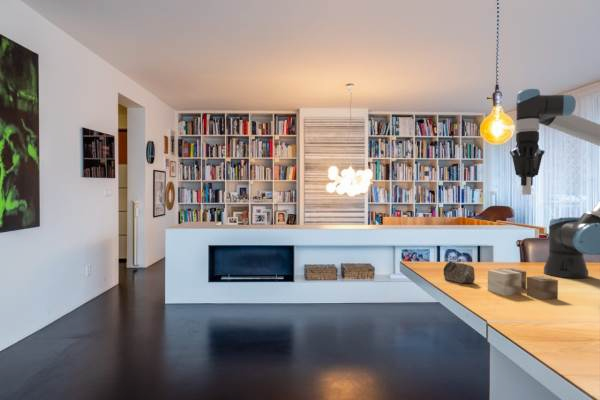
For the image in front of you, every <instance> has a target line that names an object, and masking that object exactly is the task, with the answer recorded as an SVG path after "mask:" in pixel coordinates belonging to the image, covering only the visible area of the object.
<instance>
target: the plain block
mask: <svg viewBox="0 0 600 400" xmlns="http://www.w3.org/2000/svg"><path fill="white" fill-rule="evenodd" d="M506 269H507V268H498V269H488V270H487V291H488V292H490V293H493V294H498V295H500V296H503V297H506V296H515V295H516V296H517V295H522V289H521V280H522V273H519V272H515V271H510V270H506Z"/></svg>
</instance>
